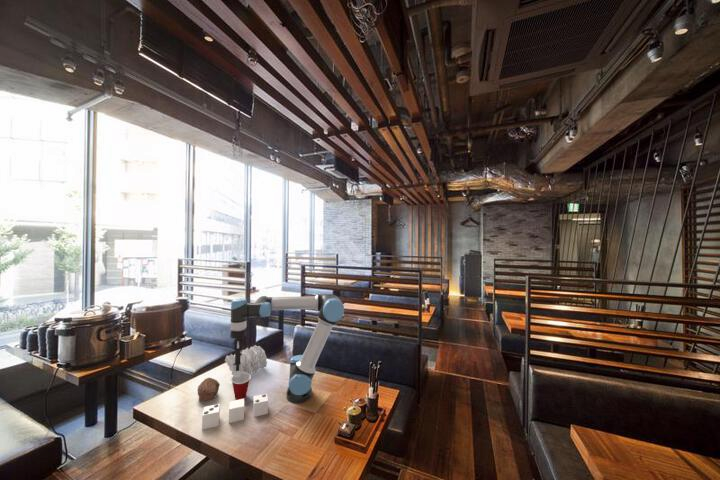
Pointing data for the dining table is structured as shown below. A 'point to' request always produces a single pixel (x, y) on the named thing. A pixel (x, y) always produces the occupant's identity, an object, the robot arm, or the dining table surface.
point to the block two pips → (260, 405)
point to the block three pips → (210, 416)
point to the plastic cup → (241, 385)
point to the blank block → (236, 410)
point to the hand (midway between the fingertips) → (237, 372)
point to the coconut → (208, 389)
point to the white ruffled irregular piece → (248, 360)
